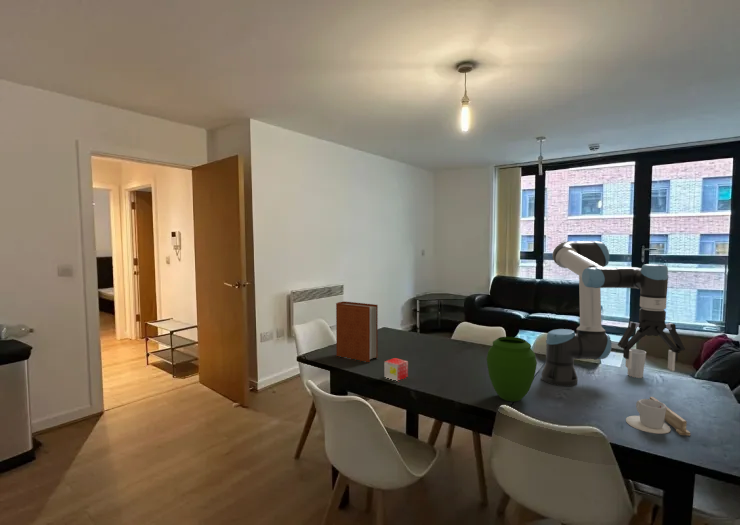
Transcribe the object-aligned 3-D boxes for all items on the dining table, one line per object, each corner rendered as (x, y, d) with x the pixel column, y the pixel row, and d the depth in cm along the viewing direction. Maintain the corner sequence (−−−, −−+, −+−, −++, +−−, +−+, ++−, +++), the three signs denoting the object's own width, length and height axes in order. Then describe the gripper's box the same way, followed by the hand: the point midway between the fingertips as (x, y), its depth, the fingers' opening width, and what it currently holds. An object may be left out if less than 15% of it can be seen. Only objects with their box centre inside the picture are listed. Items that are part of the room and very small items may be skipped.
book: (377, 359, 219) (377, 304, 217) (369, 363, 212) (369, 306, 210) (343, 352, 231) (343, 301, 230) (335, 356, 225) (334, 303, 223)
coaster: (636, 432, 136) (636, 431, 136) (619, 415, 149) (619, 414, 149) (679, 435, 134) (679, 434, 134) (658, 418, 147) (658, 417, 147)
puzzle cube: (384, 377, 190) (384, 361, 190) (394, 373, 196) (394, 357, 195) (397, 382, 185) (397, 365, 184) (407, 377, 190) (408, 361, 190)
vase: (531, 412, 152) (532, 348, 151) (479, 401, 162) (480, 341, 161) (539, 395, 169) (541, 338, 167) (492, 386, 179) (493, 332, 177)
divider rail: (680, 434, 134) (680, 421, 134) (645, 407, 156) (646, 395, 156) (690, 435, 134) (690, 422, 134) (654, 407, 156) (654, 396, 156)
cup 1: (648, 379, 188) (649, 353, 187) (629, 377, 189) (630, 352, 189) (640, 373, 196) (641, 349, 195) (622, 372, 197) (623, 348, 196)
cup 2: (626, 417, 147) (627, 396, 146) (647, 416, 147) (647, 395, 147) (649, 431, 136) (650, 408, 135) (671, 430, 137) (672, 407, 136)
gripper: (618, 309, 137) (615, 370, 139) (699, 312, 133) (696, 374, 135) (609, 305, 145) (606, 363, 146) (686, 307, 141) (682, 367, 142)
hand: (649, 368), depth 141 cm, fingers open, 13 cm apart
